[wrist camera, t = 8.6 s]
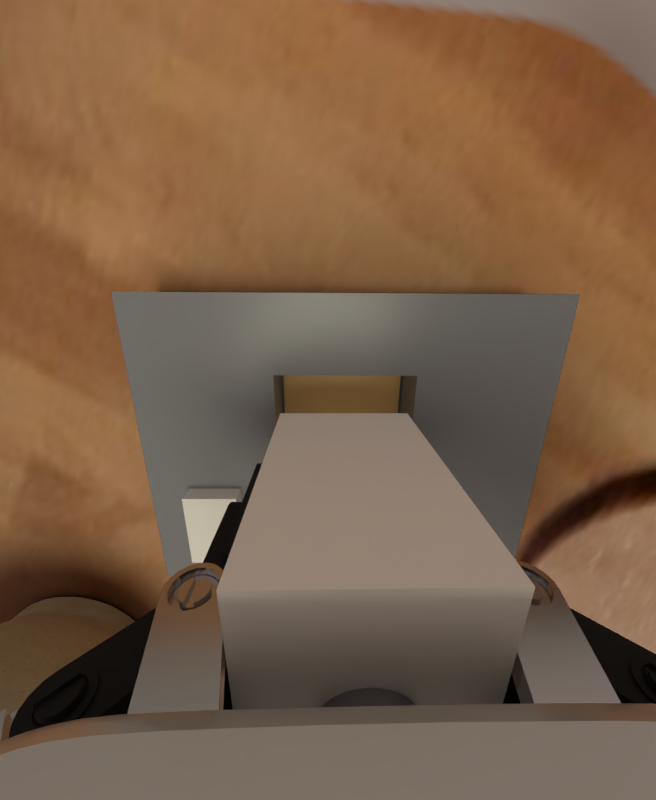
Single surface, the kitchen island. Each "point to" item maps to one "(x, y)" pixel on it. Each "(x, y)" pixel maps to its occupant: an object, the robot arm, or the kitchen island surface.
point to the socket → (337, 388)
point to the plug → (366, 575)
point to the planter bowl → (50, 642)
